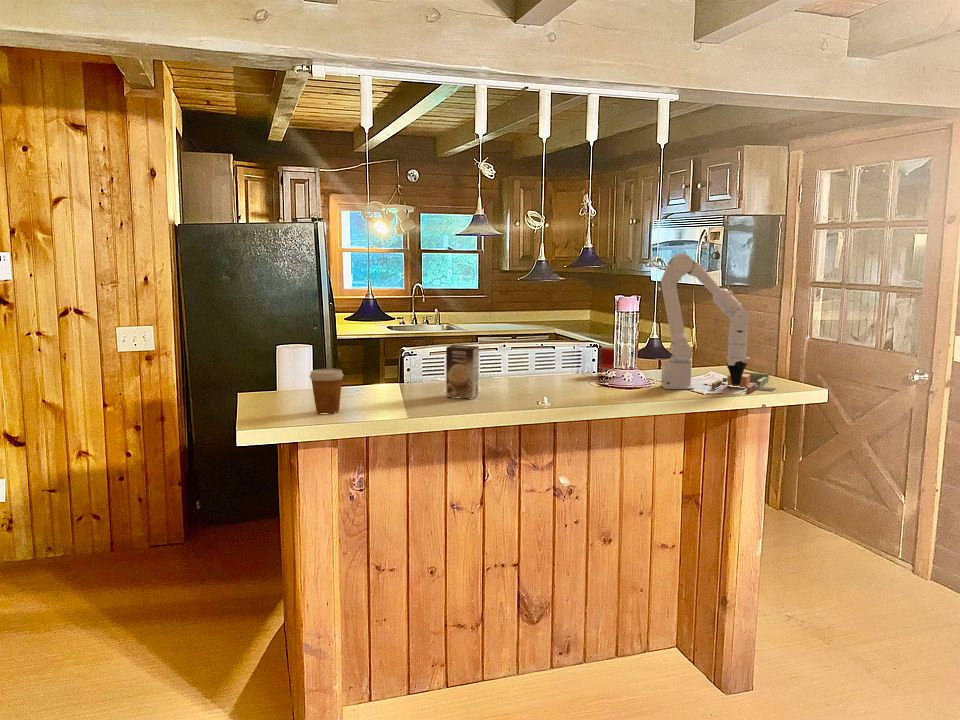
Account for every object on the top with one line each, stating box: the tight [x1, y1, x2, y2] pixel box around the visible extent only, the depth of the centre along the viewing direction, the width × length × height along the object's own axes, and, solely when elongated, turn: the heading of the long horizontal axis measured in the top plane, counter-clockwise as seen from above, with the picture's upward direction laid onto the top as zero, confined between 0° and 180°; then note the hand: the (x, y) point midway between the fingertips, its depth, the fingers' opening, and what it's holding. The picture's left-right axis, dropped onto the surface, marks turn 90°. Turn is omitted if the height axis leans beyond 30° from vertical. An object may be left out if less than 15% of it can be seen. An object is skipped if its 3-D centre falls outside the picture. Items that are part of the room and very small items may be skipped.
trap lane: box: [710, 371, 770, 394], centre depth 257 cm, size 24×12×3 cm, turn 147°
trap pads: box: [755, 386, 777, 392], centre depth 256 cm, size 5×22×1 cm, turn 57°
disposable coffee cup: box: [309, 368, 344, 414], centre depth 218 cm, size 10×10×12 cm
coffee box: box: [445, 344, 480, 399], centre depth 239 cm, size 9×6×16 cm
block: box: [727, 373, 751, 388], centre depth 256 cm, size 6×6×4 cm
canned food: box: [600, 344, 615, 374], centre depth 277 cm, size 8×8×11 cm
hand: (735, 384), depth 252 cm, fingers closed
